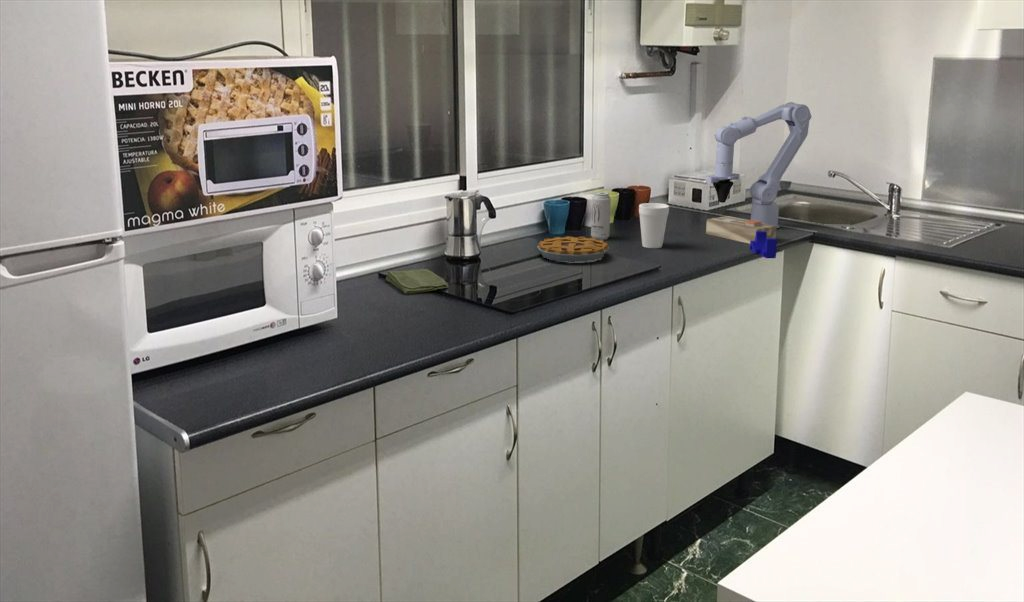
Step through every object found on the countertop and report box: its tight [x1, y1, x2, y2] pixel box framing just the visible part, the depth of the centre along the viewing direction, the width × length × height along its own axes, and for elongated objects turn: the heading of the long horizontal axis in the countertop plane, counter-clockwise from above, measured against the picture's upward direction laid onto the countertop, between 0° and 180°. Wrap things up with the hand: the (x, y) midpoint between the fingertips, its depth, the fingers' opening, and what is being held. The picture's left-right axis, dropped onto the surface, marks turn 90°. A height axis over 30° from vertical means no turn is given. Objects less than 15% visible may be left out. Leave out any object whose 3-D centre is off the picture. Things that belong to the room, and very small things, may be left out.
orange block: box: [745, 219, 761, 227], centre depth 323 cm, size 4×4×5 cm
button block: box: [705, 215, 777, 245], centre depth 327 cm, size 10×21×5 cm, turn 37°
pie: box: [536, 235, 610, 262], centre depth 299 cm, size 22×22×5 cm
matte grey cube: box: [723, 219, 737, 222], centre depth 331 cm, size 4×4×5 cm
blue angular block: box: [749, 231, 778, 259], centre depth 304 cm, size 12×4×6 cm, turn 3°
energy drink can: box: [590, 191, 611, 241], centre depth 322 cm, size 6×6×15 cm
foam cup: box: [638, 202, 670, 249], centre depth 312 cm, size 10×9×13 cm
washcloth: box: [385, 268, 449, 295], centre depth 266 cm, size 13×18×3 cm
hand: (721, 202), depth 338 cm, fingers closed
